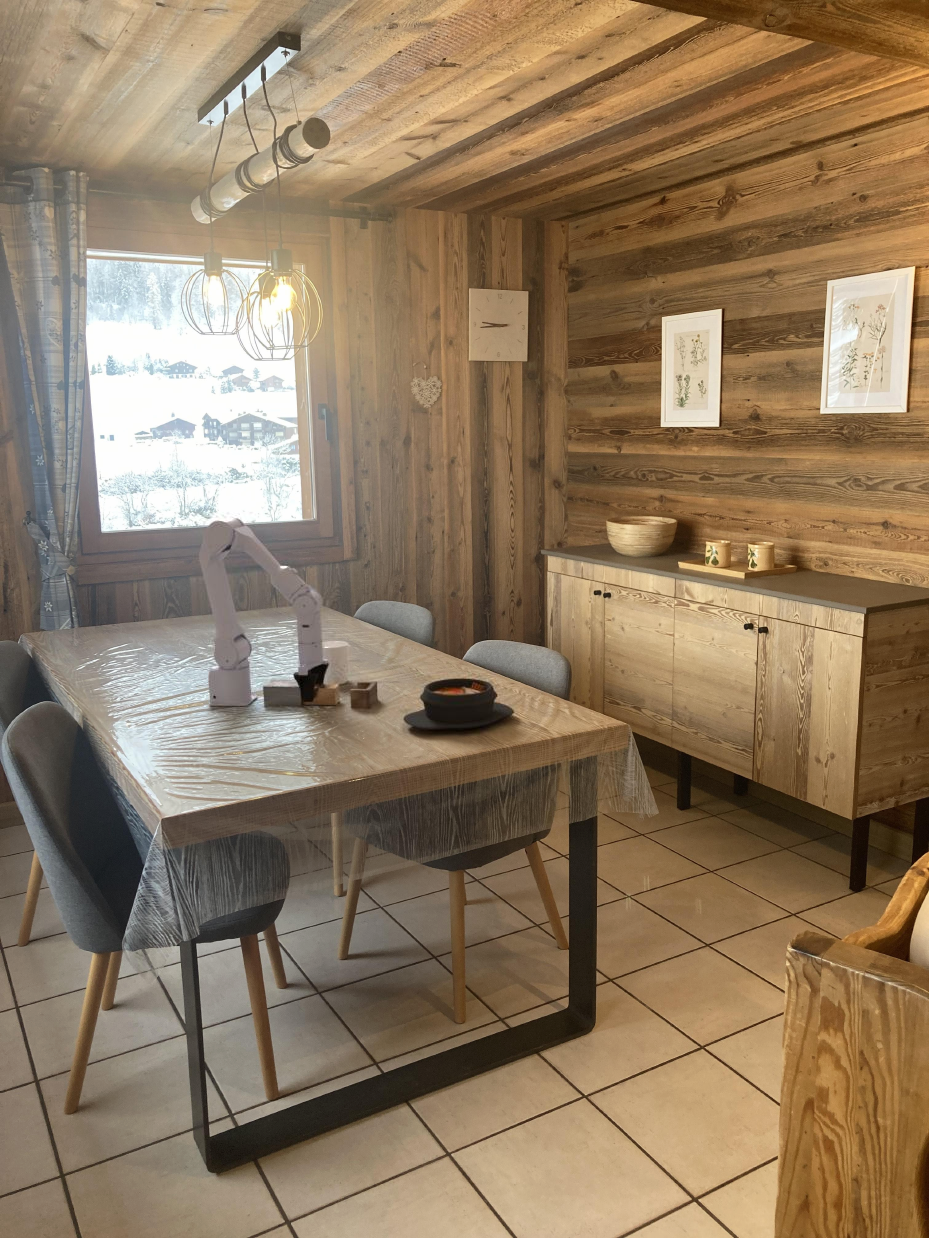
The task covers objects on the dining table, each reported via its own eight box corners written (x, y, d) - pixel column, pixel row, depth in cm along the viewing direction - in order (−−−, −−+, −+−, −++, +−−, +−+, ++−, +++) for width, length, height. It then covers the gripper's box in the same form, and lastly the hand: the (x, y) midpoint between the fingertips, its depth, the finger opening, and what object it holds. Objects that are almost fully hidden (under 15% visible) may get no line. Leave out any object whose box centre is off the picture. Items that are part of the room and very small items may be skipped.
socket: (351, 708, 228) (350, 690, 227) (358, 699, 236) (358, 681, 235) (370, 708, 228) (369, 690, 227) (377, 699, 235) (376, 681, 234)
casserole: (489, 705, 229) (489, 670, 227) (530, 725, 212) (529, 688, 211) (390, 721, 218) (389, 684, 216) (424, 743, 201) (423, 704, 200)
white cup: (321, 687, 248) (319, 648, 246) (317, 679, 256) (315, 642, 254) (352, 684, 250) (350, 646, 248) (347, 677, 258) (345, 639, 256)
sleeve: (264, 706, 231) (263, 686, 231) (273, 698, 238) (271, 679, 237) (301, 706, 230) (300, 687, 229) (308, 699, 237) (307, 679, 236)
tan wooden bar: (270, 703, 233) (268, 687, 232) (275, 699, 236) (274, 683, 236) (335, 704, 231) (334, 688, 230) (339, 700, 234) (339, 684, 234)
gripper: (318, 648, 223) (321, 706, 225) (334, 635, 237) (337, 689, 240) (288, 648, 224) (291, 705, 226) (306, 635, 238) (309, 689, 240)
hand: (312, 697), depth 233 cm, fingers open, 7 cm apart
